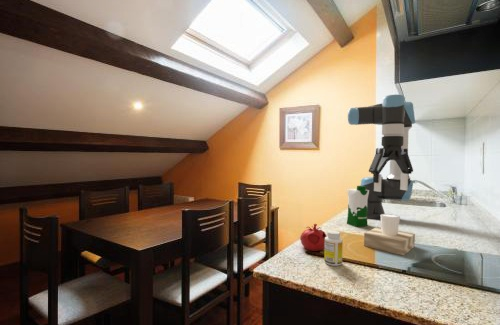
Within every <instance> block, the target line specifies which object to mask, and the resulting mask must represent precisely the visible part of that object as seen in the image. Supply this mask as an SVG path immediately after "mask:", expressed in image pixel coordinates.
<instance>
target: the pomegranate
mask: <svg viewBox="0 0 500 325" xmlns="http://www.w3.org/2000/svg"><path fill="white" fill-rule="evenodd" d="M317 225H318V224H317V223H313V225H312V226H311V227H310V226H306V227H305V229H304V230H303V231H302V232H301V235H300V237H299V241H300V242H301V245H302V247H304V248H305V249H306V250H308V251H311V252H319V251H323V250H325V237H327V233H326V232H325V231H323V230H322V229H321V227H317Z"/></svg>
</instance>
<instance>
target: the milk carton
mask: <svg viewBox="0 0 500 325" xmlns="http://www.w3.org/2000/svg"><path fill="white" fill-rule="evenodd" d="M346 191H347V201H348V202H347V203H348V204H347V219H346V224H347V225H350V226H354V227H355V228H359V227H368V218H367V200H368V195H369V190H365V186H360V185H356V188H349V189H348V188H347V189H346Z"/></svg>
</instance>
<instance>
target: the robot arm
mask: <svg viewBox="0 0 500 325" xmlns="http://www.w3.org/2000/svg"><path fill="white" fill-rule="evenodd" d="M414 110H415V109H414V104H413V102H411V101H405V96H404V95H403V94H389V95H385V96H384V97H383V99H382V103H377V104H373V105H369V106H362V107H361V106H359V107H349V109H348V111H347V122H348V124H349V125H350V126H357V125H358V126H359V125H378V126H379V125H381V147H379V148H378V147H377V148H375V154H374V157H373V159H372V160H371V161H372V162H371V164H370V166H369V169H368V172H369V173H370V174H372V176H366V177H362V178H361V180H360V185H359V186H365V190H369V195H368V200H367V219H370V218H371V219H372V220H374V219H375V220H381V217H380V215H381V214H386V213H385V210H384V207H383V200H385V201H386V200H387V201H398V202H409V201H410V200H411V196H412V194H413V193H412V192H413V186H414V180H412V179H411V176H410V175H411V174H412V173H413V172H414V168H413V166H412V161H411V159H410V156H409V132H410V129H412V127H413V125H414V124H416V119H415V118H416V117H415V111H414ZM388 162H389V173H388V174H387V176H386V178H384V177H383V176H382V174H380V173H381V172H382V171H383V169H384V168H385V166H386V164H387V163H388ZM409 174H410V175H409ZM371 219H370V220H371Z"/></svg>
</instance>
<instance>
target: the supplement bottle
mask: <svg viewBox="0 0 500 325" xmlns="http://www.w3.org/2000/svg"><path fill="white" fill-rule="evenodd" d="M326 236H327V237H325V249H324V257H323V258H324V260H323V261H324V263H325V264H326V265H327V266H331V267H338V266H341V265H342V264H343V244H344V243H343V240H344V239H342V237H341V231H338V230H330V229H329V230H327V233H326Z"/></svg>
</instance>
